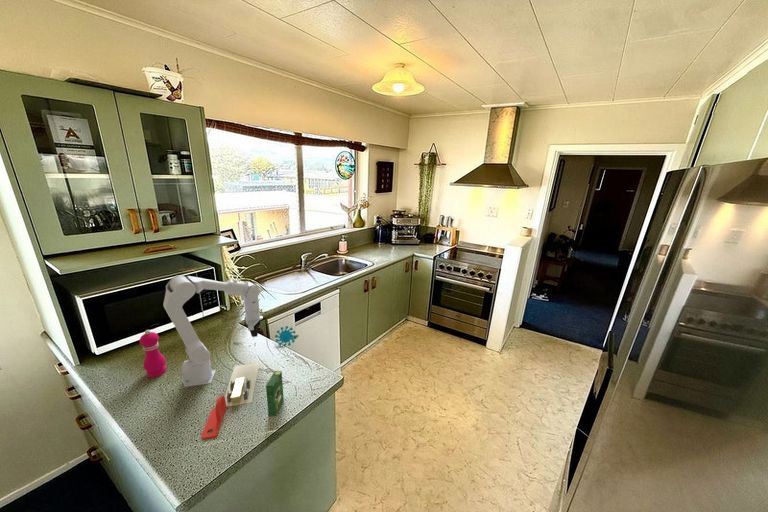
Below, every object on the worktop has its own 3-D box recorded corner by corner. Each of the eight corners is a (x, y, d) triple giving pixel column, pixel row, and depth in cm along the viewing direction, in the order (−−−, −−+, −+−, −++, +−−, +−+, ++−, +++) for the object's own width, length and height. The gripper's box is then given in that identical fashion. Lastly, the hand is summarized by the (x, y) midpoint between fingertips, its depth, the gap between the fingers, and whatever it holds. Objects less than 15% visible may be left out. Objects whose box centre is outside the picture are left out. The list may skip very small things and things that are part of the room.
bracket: (212, 410, 103) (209, 393, 101) (226, 408, 104) (223, 391, 102) (200, 440, 92) (197, 421, 90) (216, 438, 93) (213, 419, 91)
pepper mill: (171, 370, 122) (162, 328, 116) (152, 380, 116) (141, 337, 110) (161, 364, 125) (152, 323, 119) (141, 374, 118) (131, 332, 112)
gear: (273, 346, 138) (276, 325, 143) (273, 348, 143) (276, 328, 148) (297, 346, 141) (299, 326, 145) (297, 349, 146) (299, 329, 150)
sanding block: (232, 404, 106) (231, 397, 105) (237, 385, 115) (236, 378, 114) (240, 403, 106) (239, 396, 105) (245, 383, 115) (244, 377, 114)
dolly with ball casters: (227, 402, 106) (226, 394, 105) (232, 386, 114) (231, 379, 113) (247, 399, 108) (246, 391, 107) (250, 384, 115) (250, 377, 114)
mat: (221, 408, 104) (221, 407, 104) (234, 366, 125) (234, 366, 125) (251, 403, 107) (251, 402, 107) (259, 363, 128) (259, 362, 128)
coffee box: (276, 398, 109) (274, 369, 106) (284, 399, 109) (282, 370, 106) (267, 416, 102) (264, 385, 98) (275, 416, 102) (273, 386, 98)
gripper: (259, 316, 121) (262, 344, 125) (263, 301, 135) (266, 326, 139) (241, 317, 119) (244, 346, 123) (247, 302, 133) (250, 328, 137)
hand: (254, 335), depth 131 cm, fingers closed
